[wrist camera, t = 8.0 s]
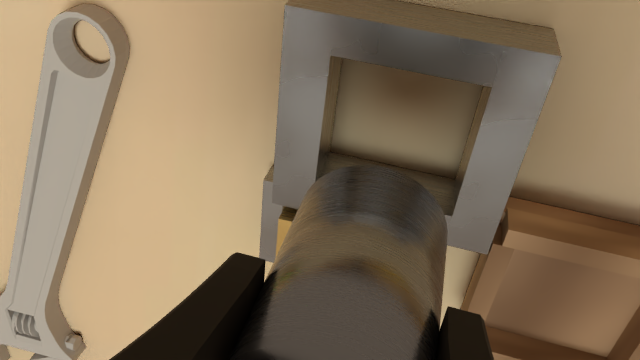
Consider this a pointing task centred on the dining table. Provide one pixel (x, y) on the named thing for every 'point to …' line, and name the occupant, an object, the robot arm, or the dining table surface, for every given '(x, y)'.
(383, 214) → the grey knob
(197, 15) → the dining table surface
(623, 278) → the brown square tray
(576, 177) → the dining table surface
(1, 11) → the dining table surface
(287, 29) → the socket block
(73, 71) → the adjustable wrench
